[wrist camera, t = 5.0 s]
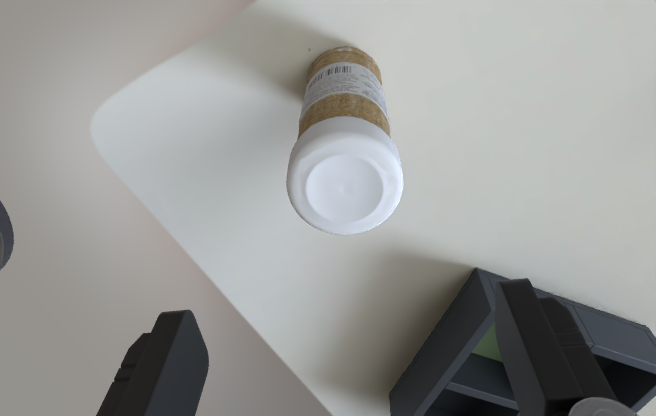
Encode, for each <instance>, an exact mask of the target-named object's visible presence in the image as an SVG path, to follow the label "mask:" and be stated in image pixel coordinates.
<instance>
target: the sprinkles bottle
mask: <svg viewBox="0 0 656 416" xmlns="http://www.w3.org/2000/svg"><path fill="white" fill-rule="evenodd" d="M402 190H403V174H402V167H401V162H400V157H399V153H398V150H397V148H396V146H395V144H394V143H393V141H392V140H391V129H390V124H389V119H388V115H387V110H386V104H385V99H384V93H383V89H382V82H381V74H380V71H379V68H378V66H377V65H376V63H375V61H374V60H373V59H372V58H371V57H370V56H369V55H367V54H366V53H365V52H363V51H361V50H359V49H356V48H352V47H338V48H334V49H332V50H328V51H326V52H325V53H323V54H322V55H321V56H319V57H318V58H317V59H316V61H315V62H314V64H313V66H312V67H311V68H310V71H309V74H308V78H307V88H306V92H305V97H304V101H303V106H302V111H301V116H300V120H299V135H298V139H297V142H296V143H295V145H294V147H293V149H292V152H291V155H290V160H289V165H288V172H287V192H288V196H289V199H290V201H291V204H292V206H293V207H294V209H295V210H296V212H297V213H298V214H299V216H300V217H301V218H302V219H303V220H305V221H306V222H307V223H308V224H310V225H311V226H313V227H315V228H317V229H319V230H321V231H324V232H328V233H332V234H338V235H350V234H357V233H362V232H365V231H368V230H370V229H372V228H374V227H376V226H378V225H379V224H381V223H382V222H383V221H385V220H386V219H387V218H388V217H389V216H390V215H391V214H392V212H393V211H394V210H395V208H396V206H397V205H398V203H399V200H400V198H401V195H402Z"/></svg>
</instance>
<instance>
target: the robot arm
mask: <svg viewBox="0 0 656 416" xmlns="http://www.w3.org/2000/svg"><path fill="white" fill-rule="evenodd" d="M495 332H496V339H497V344H498V348H499V351H500V354H501V357H502V360H503V364H504V367H505V370H506V373H507V376H508V379H509V382H510V385H511V388H512V391H513V394H514V397H515V400H516V403H517V406H518V409H519V412H520V415H521V416H638V415H637V414H636V413H635V412H634V411H633V410H631V409H630V408H629V407H627V406H625V405H624V404H622V403H620V402H619V401H618V399H617V398H616V396H615V394H614V392H613V391H612V389H611V387H610V385H609V383H608V381H607V379H606V378H605V376H604V374H603V372H602V370H601V368H600V366H599V364H598V363H597V361H596V359H595V357H594V355H593V353H592V351H591V350H590V348H589V346H588V345H587V344H586V340H585V338H584V336H583V335H582V333H581V331H579V327H578V325H577V323H576V321H575V320H574V318H573V316H572V314H571V312H570V311H569V310H568V309H567V308H566V307H565V306H563V305H562V304H561V303H560V302H559V301H557V300H556V299H555V298H554V297H547V298H538V297H537V295H536V293H535V291H534V289H533V287H532V285H531V283H530V281H529V279H527V278H525V279H515V280H504V281H497V282H496V300H495ZM208 367H209V358H208V351H207V348H206V345H205V343H204V340H203V338H202V335H201V332H200V330H199V327H198V325H197V322H196V319H195V317H194V314H193V313H192V311H191V310H182V311H170V312H162V313H161V314H160V315H159V316H158V318H157V321H156V323H155V325H154V327H153V330H152V332H151V333H143V334H142V335H141V336H140V337H139V339H138V340H137V341H136V342H135V343H134V344H133V345H132V346H131V347H130V348H129V349H128V352H127V354H126V355H125V358H124V360H123V362H122V364H121V368H119V370H118V372H117V374H116V376H115V378H114V382H112V384H111V386H110V388H109V390H108V393H107V395H106V397H105V399H104V401H103V403H102V405H101V407H100V409H99V411H98V413H97V415H96V416H195V413H196V410H197V407H198V403H199V400H200V397H201V393H202V390H203V386H204V383H205V380H206V377H207V372H208Z"/></svg>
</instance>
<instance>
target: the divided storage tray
mask: <svg viewBox="0 0 656 416" xmlns="http://www.w3.org/2000/svg"><path fill="white" fill-rule="evenodd" d="M504 280H510V279H507V278H504V277H501V276H498V275H496V274H493V273H490V272H487V271H484V270H481V269H478V268H476V269H475V271H474V272H473V274H472V275H471V276H470V278H469V279H468V281H467V282H466V284H465V285H464V287H463V288H462V290H461V291H460V292H459V294H458V295H457V297H456V298H455V300H454V301H453V303H452V304H451V306H450V307H449V308H448V310H447V311H446V313H445V314H444V316H443V317H442V319H441V320H440V322H439V323H438V324H437V326H436V327H435V329H434V330H433V332H432V333H431V335H430V336H429V338H428V339H427V340H426V342H425V343H424V345H423V346H422V348H421V349H420V351H419V352H418V353H417V355H416V356H415V358H414V359H413V361H412V362H411V364H410V365H409V367H408V368H407V369H406V371H405V372H404V374H403V375H402V377H401V378H400V380H399V381H398V383H397V384H396V385H395V387H394V388H393V390H392V391H391V393H390V394H389V400H390V412H391V416H521V415H520V412H519V409H518V406H517V403H516V400H515V397H514V394H513V391H512V388H511V385H510V382H509V379H508V376H507V373H506V370H505V367H504V364H503V360H502V357H501V354H500V351H499V348H498V344H497V339H496V332H495V300H496V282H497V281H504ZM533 289H534V291H535V293H536V295H537V297H538V298H547V297H554V298H555V299H556V300H557V301H559V302H560V303H561V304H562V305H563V306H565V307H566V308H567V309H568V310H569V311H570V312H571V314H572V316H573V318H574V320H575V321H576V323H577V325H578V327H579V331H581V333H582V335H583V336H584V338H585V340H586V344H587V345H588V346H589V348H590V350H591V351H592V353H593V355H594V357H595V359H596V361H597V363H598V364H599V366H600V368H601V370H602V372H603V374H604V376H605V378H606V379H607V381H608V383H609V385H610V387H611V389H612V391H613V392H614V394H615V396H616V398H617V399H618V401H619V402H620V403H622V404H624V405H625V406H627V407H629V408H630V409H631V410H633V411H634V412H635V413H637V412H638V411H639V410H640V409H641V408H643V407H644V406H645V405H646V404H647V403H648V402H649V401H650V400H651V399H653V398H654V397H655V396H656V338H655V336H654V335H653V333H652V332H651V330H650V329H649V328H648V327H646V326H643V325H640V324H637V323H634V322H631V321H628V320H625V319H623V318H620V317H617V316H614V315H611V314H608V313H605V312H602V311H599V310H597V309H594V308H591V307H588V306H585V305H582V304H579V303H576V302H573V301H571V300H568V299H565V298H562V297H559V296H556V295H553V294H550V293H548V292H545V291H542V290H539V289H536V288H533Z"/></svg>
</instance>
